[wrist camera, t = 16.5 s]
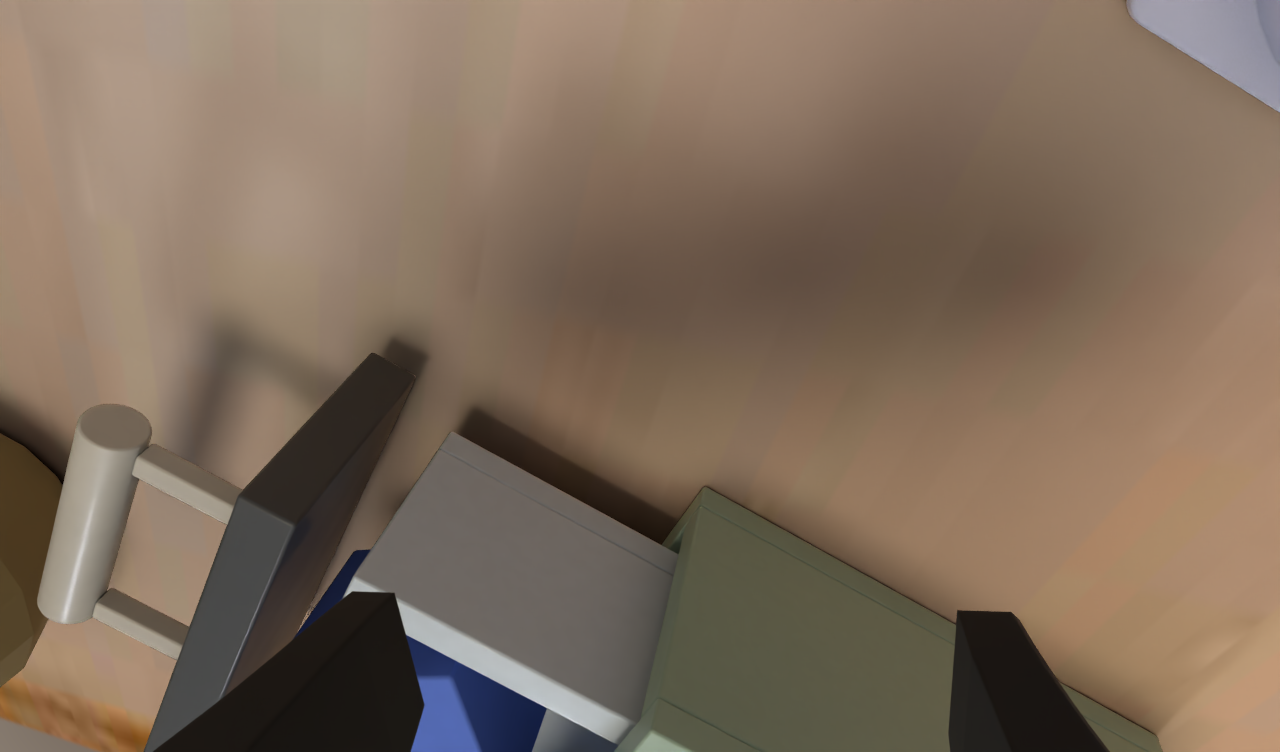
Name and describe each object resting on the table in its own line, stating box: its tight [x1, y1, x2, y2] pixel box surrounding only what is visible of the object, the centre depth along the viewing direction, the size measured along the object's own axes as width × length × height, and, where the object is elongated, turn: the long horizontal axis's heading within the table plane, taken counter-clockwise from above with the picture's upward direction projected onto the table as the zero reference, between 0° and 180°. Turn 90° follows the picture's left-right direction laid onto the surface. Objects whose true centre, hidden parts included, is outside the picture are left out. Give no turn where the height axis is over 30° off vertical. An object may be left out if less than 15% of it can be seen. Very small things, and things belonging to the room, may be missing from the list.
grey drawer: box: [37, 353, 679, 752], centre depth 23 cm, size 17×10×6 cm, turn 62°
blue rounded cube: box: [293, 550, 547, 752], centre depth 23 cm, size 4×4×4 cm
